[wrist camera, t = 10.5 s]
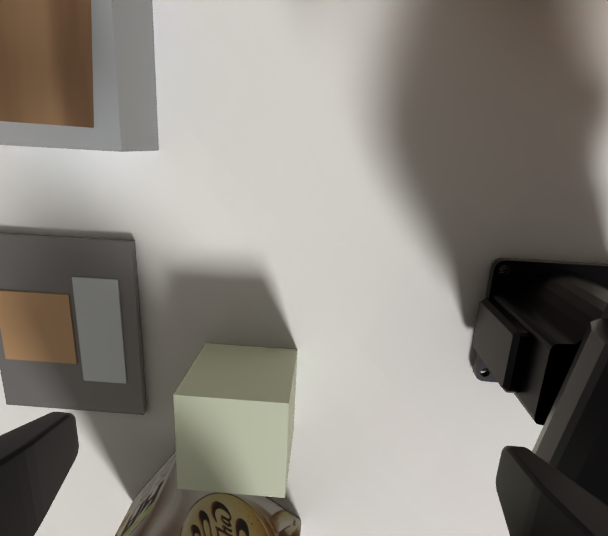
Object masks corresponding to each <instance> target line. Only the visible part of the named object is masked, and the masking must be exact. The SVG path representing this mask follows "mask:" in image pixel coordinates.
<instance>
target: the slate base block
mask: <svg viewBox="0 0 608 536" xmlns="http://www.w3.org/2000/svg"><path fill="white" fill-rule="evenodd" d="M91 19H92V63H93V106H94V128H88V127H75V126H61V125H47V124H33V123H19V122H6V121H0V145H14V146H31V147H49V148H67V149H84V150H102V151H119V152H126V151H155V150H159V146H158V123H157V100H156V77H155V54H154V31H153V8H152V0H91Z"/></svg>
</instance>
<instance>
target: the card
mask: <svg viewBox="0 0 608 536" xmlns="http://www.w3.org/2000/svg"><path fill="white" fill-rule="evenodd" d="M0 370H1V376H2V381H3V387H4V393H5V398H6V404H8V405H21V406H34V407H47V408H61V409H74V410H87V411H100V412H113V413H126V414H140V415H144V413H145V412H146V411H147V410H146V396H145V382H144V367H143V353H142V339H141V324H140V310H139V295H138V281H137V267H136V252H135V241H134V240H117V239H100V238H83V237H66V236H49V235H32V234H15V233H0Z"/></svg>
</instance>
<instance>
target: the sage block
mask: <svg viewBox="0 0 608 536" xmlns="http://www.w3.org/2000/svg"><path fill="white" fill-rule="evenodd" d="M296 368H297V349H283V348H269V347H254V346H240V345H226V344H211V343H205V345H204V346H203V348H202V349H201V351H200V353H199V354H198V356H197V357H196V359H195V361H194V362H193V364H192V365H191V367H190V369H189V370H188V372H187V373H186V375H185V377H184V378H183V380H182V381H181V383H180V385H179V386H178V388H177V389H176V391H175V393H174V394H173V402H174V423H175V445H176V466H177V487H178V489H185V490H196V491H208V492H220V493H232V494H244V495H256V496H267V497H279V498H285V494H286V486H287V478H288V470H289V462H290V454H291V446H292V438H293V430H294V410H295V389H296Z"/></svg>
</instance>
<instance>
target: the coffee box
mask: <svg viewBox="0 0 608 536" xmlns="http://www.w3.org/2000/svg"><path fill="white" fill-rule="evenodd" d="M300 530H301V521H300V520H299V519H298V518H297V517H295V516H294V515H292V514H291V513H289V512H288V511H286V510H285V509H283V508H281V507H280V506H278V505H277V504H275V503H274V502H272V501H271V500H269V499H268V498H266V497H265V496H256V495H244V494H232V493H220V492H208V491H196V490H185V489H178V487H177V466H176V452H175V453H174V454H173V455H172V456H171V457H170V458H169V459H168V461H167V462H166V463H165V464H164V465H163V466H162V467H161V468H160V470H159V471H158V472H157V473H156V474H155V475H154V476H153V478H152V479H151V480H150V481H149V482H148V483H147V484H146V486H145V487H144V488H143V489H142V490H141V492H140V493H139V494H138V495H137V496H136V498H135V499H134V500H133V502H132V504H131V506H130V508H129V510H128V512H127V514H126V516H125V518H124V520H123V522H122V523H121V525H120V527H119V529H118V531H117V533H116V535H115V536H300Z"/></svg>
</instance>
